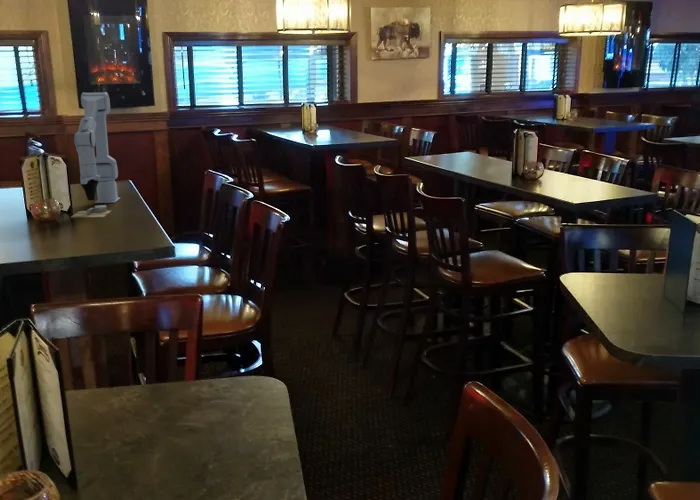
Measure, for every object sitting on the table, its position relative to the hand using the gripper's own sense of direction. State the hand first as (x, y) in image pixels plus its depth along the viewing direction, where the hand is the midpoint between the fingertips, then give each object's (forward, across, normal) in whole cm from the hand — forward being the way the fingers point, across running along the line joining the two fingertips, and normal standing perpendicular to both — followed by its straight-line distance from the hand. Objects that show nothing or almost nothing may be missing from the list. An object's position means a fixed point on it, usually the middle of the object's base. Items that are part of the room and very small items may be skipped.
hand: (91, 200), depth 259 cm
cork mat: (+5, -2, 0) cm, 6 cm away
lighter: (+4, +5, 0) cm, 6 cm away
